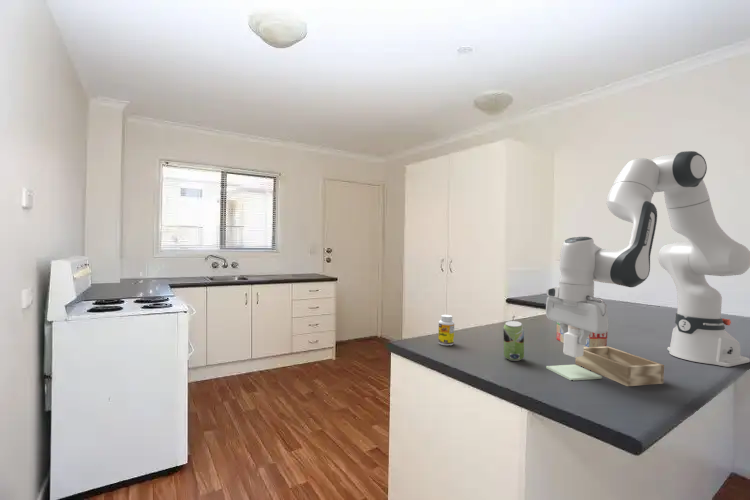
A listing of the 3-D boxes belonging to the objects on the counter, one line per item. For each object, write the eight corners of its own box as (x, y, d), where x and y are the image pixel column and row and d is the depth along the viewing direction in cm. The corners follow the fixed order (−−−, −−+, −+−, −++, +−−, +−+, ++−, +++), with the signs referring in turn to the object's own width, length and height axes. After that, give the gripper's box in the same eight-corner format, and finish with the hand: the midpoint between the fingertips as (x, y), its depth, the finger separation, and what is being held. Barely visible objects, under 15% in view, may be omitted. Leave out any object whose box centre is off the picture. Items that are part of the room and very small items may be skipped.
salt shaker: (584, 356, 105) (585, 323, 105) (575, 358, 104) (576, 324, 103) (571, 352, 109) (572, 320, 109) (562, 354, 107) (563, 321, 107)
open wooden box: (607, 362, 118) (608, 346, 118) (663, 383, 100) (664, 365, 100) (575, 363, 115) (575, 347, 115) (627, 386, 97) (627, 367, 97)
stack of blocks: (555, 339, 145) (556, 308, 145) (571, 339, 145) (572, 308, 145) (588, 356, 124) (589, 319, 123) (607, 356, 124) (608, 320, 124)
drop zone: (574, 366, 113) (574, 364, 112) (601, 378, 103) (601, 376, 103) (546, 368, 110) (546, 366, 110) (571, 380, 100) (571, 378, 100)
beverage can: (524, 357, 120) (525, 320, 120) (523, 364, 113) (524, 325, 113) (503, 354, 122) (505, 318, 122) (501, 361, 116) (502, 322, 116)
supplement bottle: (434, 343, 135) (435, 315, 135) (445, 341, 138) (446, 313, 138) (446, 346, 130) (447, 317, 130) (457, 344, 133) (457, 316, 133)
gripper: (616, 299, 97) (614, 352, 97) (560, 289, 117) (558, 332, 117) (596, 299, 95) (593, 353, 95) (542, 289, 115) (541, 333, 115)
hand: (573, 341), depth 106 cm, fingers closed on salt shaker, 4 cm apart
